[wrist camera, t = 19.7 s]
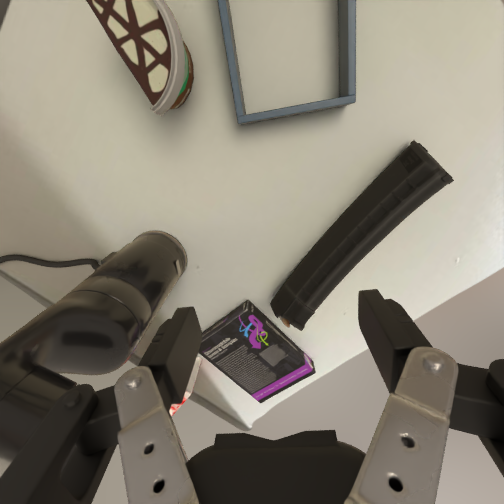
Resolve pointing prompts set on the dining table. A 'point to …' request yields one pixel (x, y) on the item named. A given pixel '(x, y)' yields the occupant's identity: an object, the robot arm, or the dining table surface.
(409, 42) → the dining table surface
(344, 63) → the blue rectangular frame
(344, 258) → the magazine
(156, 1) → the food container
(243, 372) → the box
